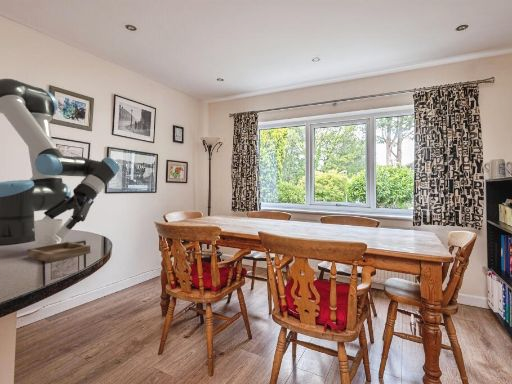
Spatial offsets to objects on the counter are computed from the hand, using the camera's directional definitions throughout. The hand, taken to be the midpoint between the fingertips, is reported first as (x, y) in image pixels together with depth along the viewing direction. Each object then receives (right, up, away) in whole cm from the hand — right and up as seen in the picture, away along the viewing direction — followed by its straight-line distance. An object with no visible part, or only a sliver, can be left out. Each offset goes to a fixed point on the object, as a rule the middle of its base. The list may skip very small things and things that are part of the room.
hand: (46, 234), depth 93 cm
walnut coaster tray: (+9, -6, -6) cm, 12 cm away
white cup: (0, -6, +1) cm, 6 cm away
